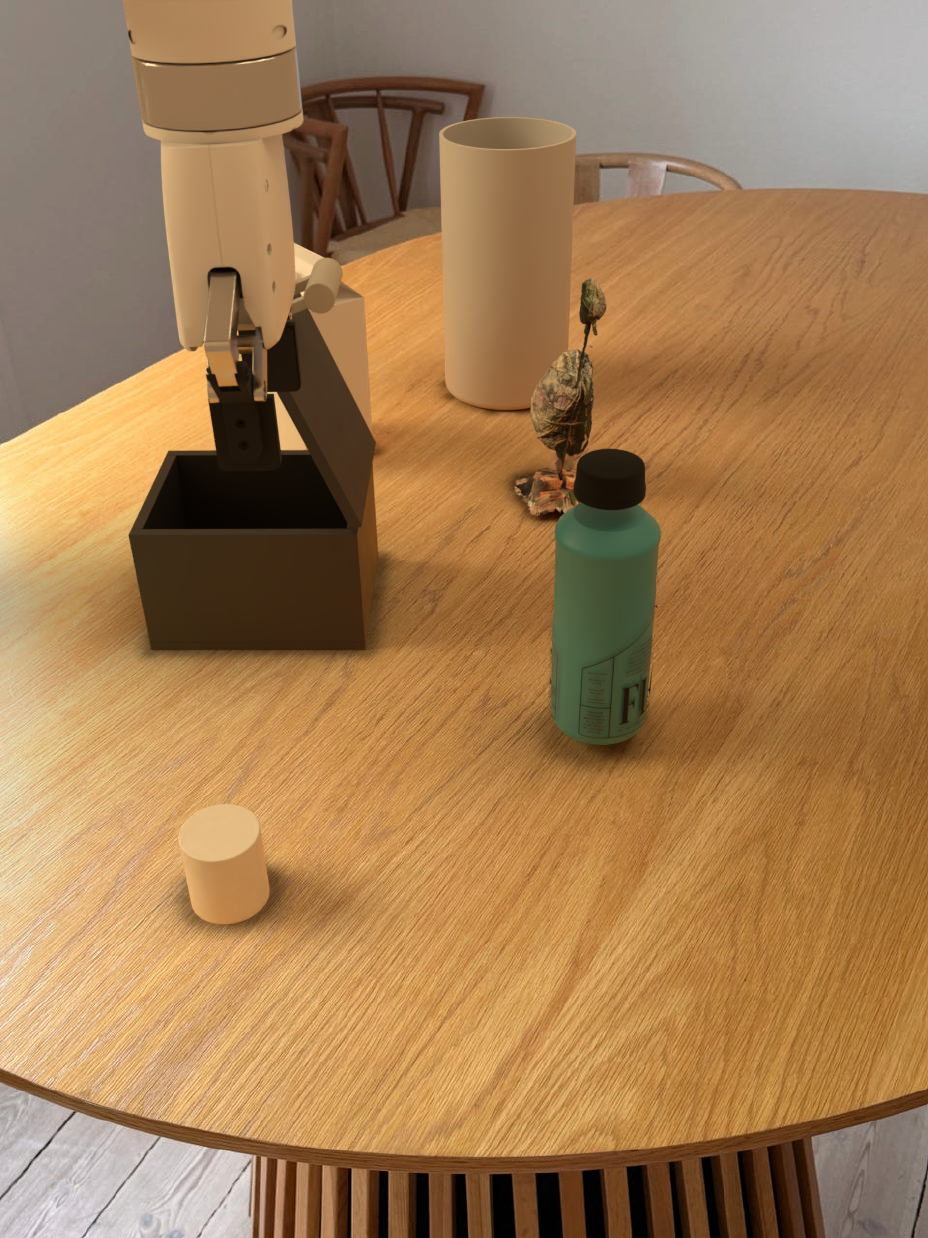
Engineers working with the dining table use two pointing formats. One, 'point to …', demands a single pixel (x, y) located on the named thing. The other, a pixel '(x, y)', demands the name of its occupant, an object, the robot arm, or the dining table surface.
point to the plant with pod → (564, 415)
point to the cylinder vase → (505, 255)
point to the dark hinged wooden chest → (252, 558)
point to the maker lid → (328, 399)
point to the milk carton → (334, 348)
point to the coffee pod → (224, 863)
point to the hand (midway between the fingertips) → (263, 426)
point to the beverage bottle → (604, 602)
